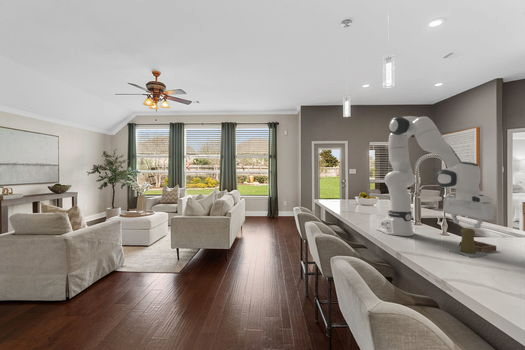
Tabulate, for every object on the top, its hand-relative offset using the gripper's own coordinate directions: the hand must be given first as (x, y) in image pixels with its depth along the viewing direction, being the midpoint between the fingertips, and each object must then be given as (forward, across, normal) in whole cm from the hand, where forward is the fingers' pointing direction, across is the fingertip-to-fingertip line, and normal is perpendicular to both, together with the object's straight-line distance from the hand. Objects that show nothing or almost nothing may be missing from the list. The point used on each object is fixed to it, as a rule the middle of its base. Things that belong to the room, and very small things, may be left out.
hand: (466, 225), depth 120 cm
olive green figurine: (+12, +1, 0) cm, 12 cm away
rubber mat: (+13, +1, 0) cm, 13 cm away
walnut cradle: (+13, -2, +11) cm, 17 cm away
